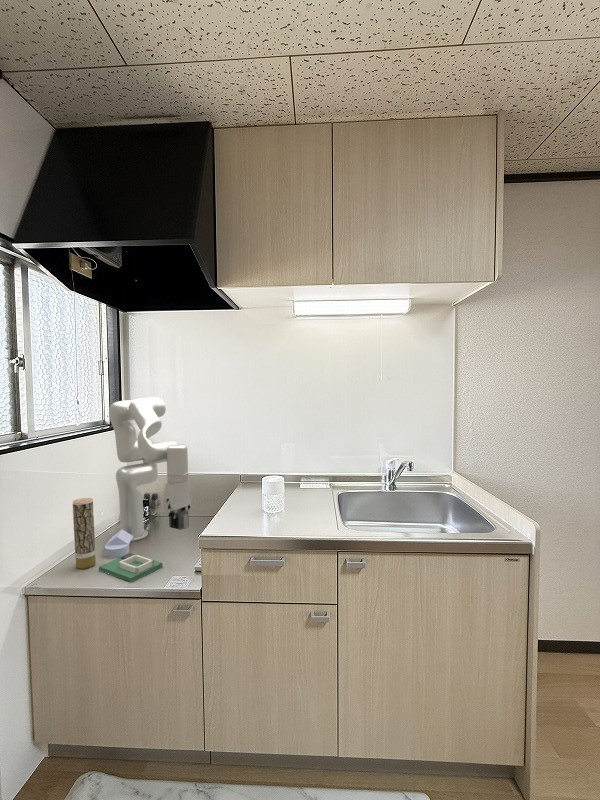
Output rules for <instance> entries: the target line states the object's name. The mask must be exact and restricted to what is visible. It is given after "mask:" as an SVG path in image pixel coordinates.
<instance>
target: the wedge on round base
mask: <svg viewBox="0 0 600 800" xmlns="http://www.w3.org/2000/svg"><path fill="white" fill-rule="evenodd" d="M132 538H133V536H132V535H131V534H129V533H127V532H126V531H124V530H123V529H122V530H119V531H118V532H116V533H115V534H114V535H113V536H111V537H110V538H109V540H108V541H107V543H106V544H105V545H104V555H105V557H106V558H109V557H111V559H113V558H115V557H116V558H120V557H122V556H124V555H126V554H129V553H130V543H131V542H132V541H131V540H132ZM116 558H115V559H116Z"/></svg>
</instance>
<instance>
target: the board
mask: <svg viewBox="0 0 600 800" xmlns="http://www.w3.org/2000/svg"><path fill="white" fill-rule="evenodd" d="M160 568H163V562H161V561H158V560H155V559H151V558H149V557H145V556H142V555H139V554H137V553H133V552H129V553H128V554H126V555H124V556H121V557H116V558H115V559H114V560H111V561H108V562H106V563H104V564H101V565H99V566H98V571H100V570H101V571H100V572H102V571H103V573H105V572H106V574H108V573H109V574H108V575H110V574H111V576H113V575H114V576H113V577H116V578H119V579H122V580H123V581H126V582H129V583H132V582H134V581H137V580H139V579H141V578H143V577H144V575H145V576H146V574H147V575H149V574H151V573H153V572H155V571H157V570H159V569H160ZM150 572H151V573H150ZM148 573H149V574H148ZM142 576H143V577H142Z"/></svg>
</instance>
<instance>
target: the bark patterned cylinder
mask: <svg viewBox="0 0 600 800" xmlns="http://www.w3.org/2000/svg"><path fill="white" fill-rule="evenodd" d="M72 515H73V519H72V521H73V535H74V536H73V537H74V555H75V566H76V568H78V569H80V570H81V569H84V568H85V569H89V568H92V567H93V566H95V565H96V561H97V560H96V559H97V558H96V539H95V519H94V517H95V515H94V499H93V498H91V497H82V498H77V499H74V500H72Z"/></svg>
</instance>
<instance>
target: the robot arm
mask: <svg viewBox="0 0 600 800" xmlns="http://www.w3.org/2000/svg"><path fill="white" fill-rule="evenodd" d="M166 409H167V408H166V404H165V402H164V400H163V399H162V398H161V397H157V396H156V397H153V396H152V397H140V398H135V399H128V400H127V399H125V400H119V401H114V402H113V403H111V405H110V406H109V408H108V416H109V420H110V424H111V426H112V428H113V431H114V438H115V445H116V448H115V449H116V455H117V459H118V461H119V462H121V463H133V462H138V461H142V462H141V463H135V464H129V465H125V466H122V467H120V468H118V469H117V470H116V473H115V480H116V484H117V485H116V486H117V489H118V498H119V499H118V500H119V501H118V502H119V517H120V519H119V520H120V522H119V523H120V524H119V525H117V526H116V530H119V531H120V530H122V529H123V530H124V531H126V532H127V533H129V534H131V535H132V536H133V538H132V540H131V541H130V542H136V541H140V540H142V539H144V538H146V537H147V536H148V534H149V533H148V530H146V529H145V528H144V527H145V526H144V502H143V494H142V492H141V491H140V490H139V489H138V487H140V486H144V485H149V484H153V483H155V482H156V481H157V479H158V475H159V473H158V464H161V463H166V478H167V480H166V481H167V482H166V483H165V485H164V491H163V493H164V494H163V508H164V509H163V514H165V515H167V517H168V518H169V517H170V518H171V527H170V528H173V529H175V530H178V529H177V528H178V518H176V517H177V510H178V509H182V510H187V511H188V514H189V512H190V509H191V507H192V506H193V504H194V501H193V499H192V488H191V483H190V479H189V475H190V472H189V469H188V468H189V461H188V460H189V459H188V458H189V457H188V455H189V454H188V447H187V445H186V444H182V443H180V442H178V441H176V440H170V441H162V442H161V441H160V442H155V443H154V442H153V440H151V439H150V438H151V437H153V436H154V435H156V434H158V432H159V431H160V430H161V428H162V427H163V426H162V424H163V423H162V420H161V417H163V416H164V415H165V413H166ZM159 417H160V418H159ZM132 420H134V422H135V424H136V425H137V427H138V429H139V433H138V434H137V430H136V428H135V426H134V425H133V424H132V423H131V421H132ZM173 511H174V514H173Z"/></svg>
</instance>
